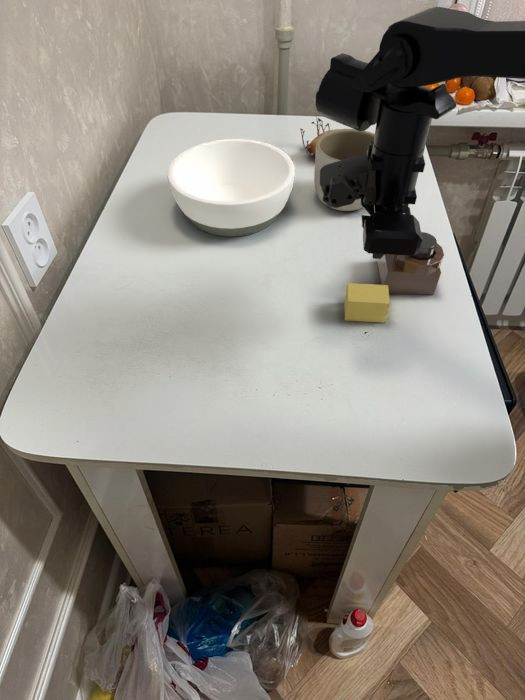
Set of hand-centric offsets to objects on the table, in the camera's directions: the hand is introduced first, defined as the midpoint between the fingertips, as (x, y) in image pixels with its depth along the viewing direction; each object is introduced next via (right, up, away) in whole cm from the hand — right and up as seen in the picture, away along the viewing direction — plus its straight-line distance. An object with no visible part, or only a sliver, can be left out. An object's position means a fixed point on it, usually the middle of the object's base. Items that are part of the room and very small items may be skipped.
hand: (376, 254), depth 68 cm
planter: (0, +16, +28) cm, 33 cm away
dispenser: (+8, -1, +13) cm, 16 cm away
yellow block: (0, -7, +8) cm, 11 cm away
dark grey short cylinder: (+8, +2, +8) cm, 12 cm away
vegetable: (+1, +29, +40) cm, 50 cm away
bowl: (-21, +13, +27) cm, 36 cm away
